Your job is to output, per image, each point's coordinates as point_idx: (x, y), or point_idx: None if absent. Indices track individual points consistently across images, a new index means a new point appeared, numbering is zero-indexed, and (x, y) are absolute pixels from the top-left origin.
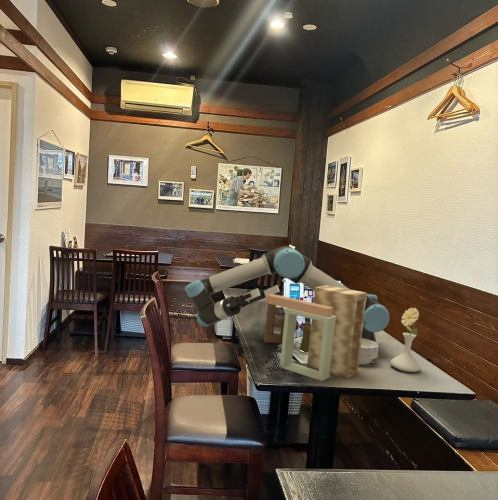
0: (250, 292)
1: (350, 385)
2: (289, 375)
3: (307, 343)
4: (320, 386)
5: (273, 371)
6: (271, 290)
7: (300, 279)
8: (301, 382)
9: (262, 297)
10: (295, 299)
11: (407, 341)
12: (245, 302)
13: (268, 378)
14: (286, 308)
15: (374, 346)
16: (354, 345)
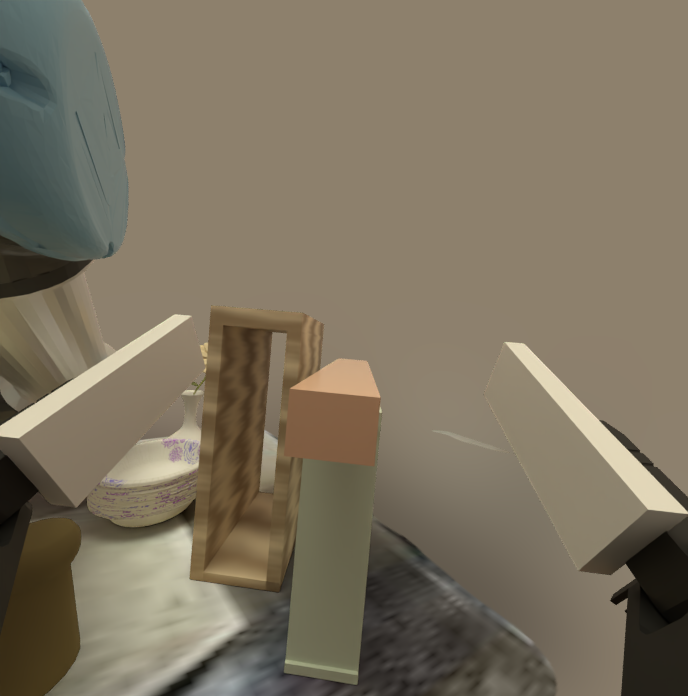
0: (569, 408)
1: None
2: (398, 609)
3: (72, 611)
4: (389, 529)
5: (422, 682)
6: (150, 379)
7: (76, 274)
8: (410, 564)
9: (10, 567)
10: (331, 368)
11: (197, 404)
12: (619, 590)
13: (493, 660)
14: (380, 410)
15: (192, 440)
16: (259, 442)
